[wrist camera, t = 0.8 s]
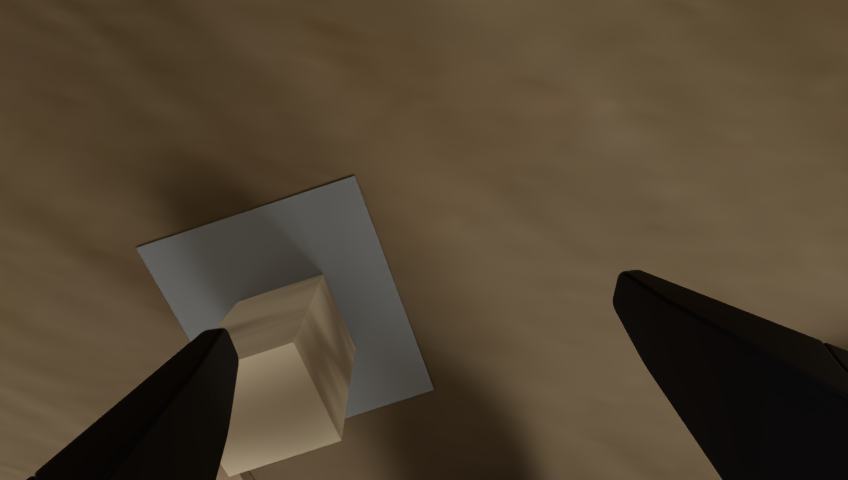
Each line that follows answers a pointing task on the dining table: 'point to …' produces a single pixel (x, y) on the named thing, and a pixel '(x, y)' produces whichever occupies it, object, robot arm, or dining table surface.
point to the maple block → (287, 374)
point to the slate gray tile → (293, 262)
